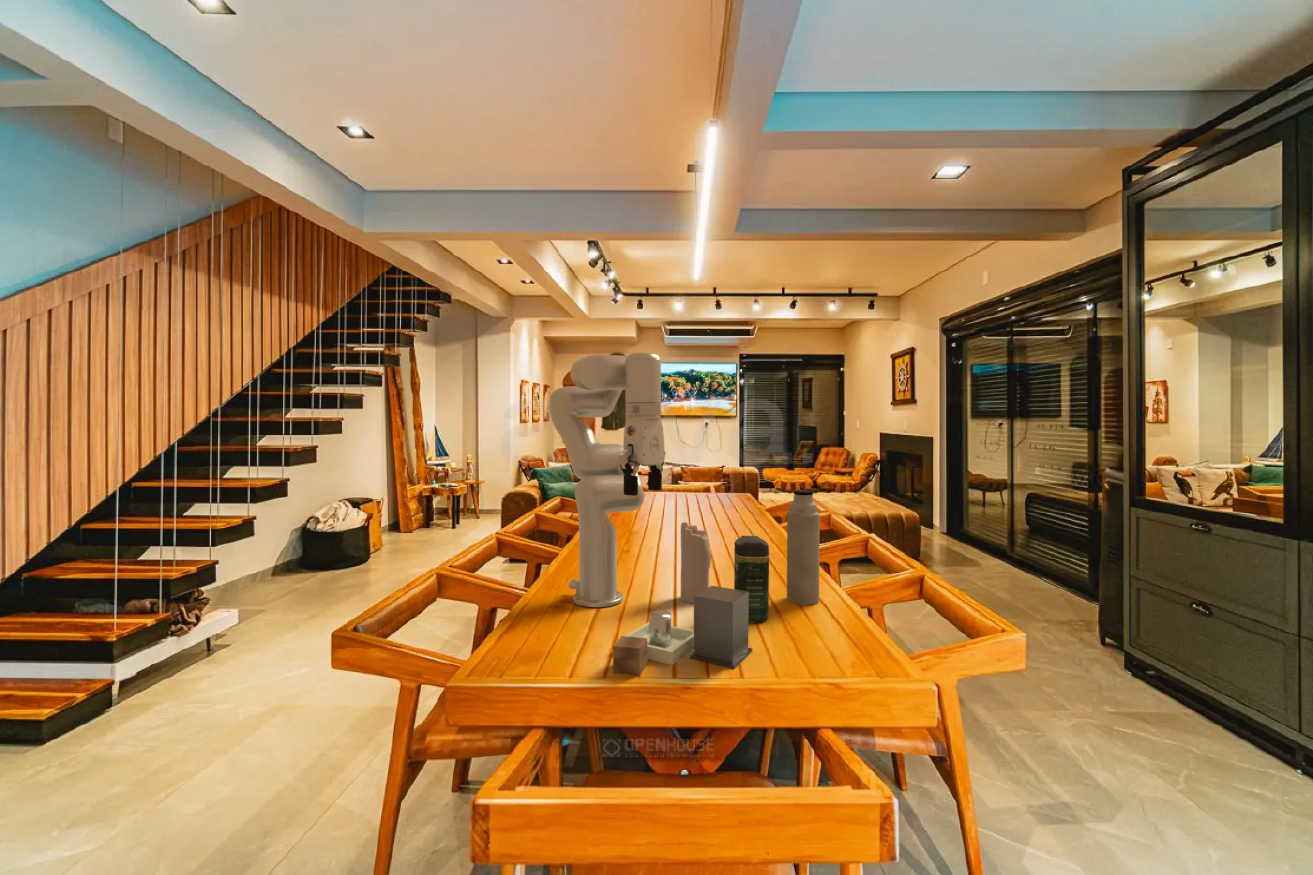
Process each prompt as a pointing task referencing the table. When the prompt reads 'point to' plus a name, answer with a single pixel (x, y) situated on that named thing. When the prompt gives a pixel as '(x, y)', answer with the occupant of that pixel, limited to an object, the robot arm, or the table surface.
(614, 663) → the walnut block
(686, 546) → the grey jagged upright block
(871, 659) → the table surface
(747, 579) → the coffee jar
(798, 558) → the thermos bottle
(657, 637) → the grey cylinder
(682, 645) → the tray
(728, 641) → the block
